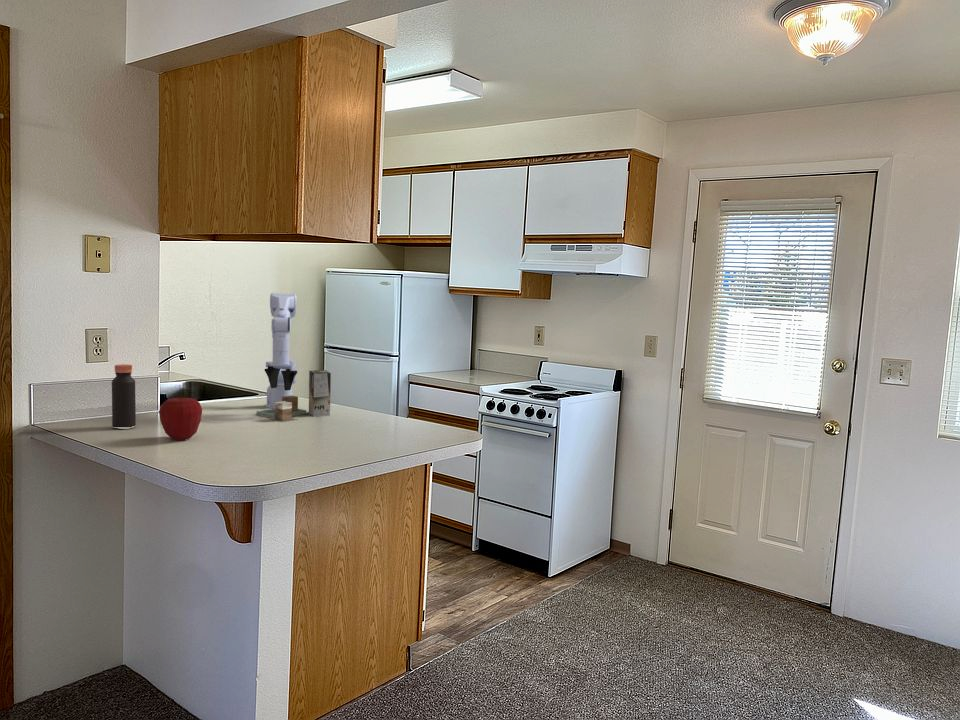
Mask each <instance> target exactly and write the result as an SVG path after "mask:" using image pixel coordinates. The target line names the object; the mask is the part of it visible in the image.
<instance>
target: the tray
mask: <svg viewBox="0 0 960 720" xmlns="http://www.w3.org/2000/svg"><path fill="white" fill-rule="evenodd" d="M306 414H307V410H306V409H302V408H298V411H296V412H292V416H293V417H294V416H300V415H306ZM256 415H257V416H261V417H267V418H269V419H275V408H270V409H264V410H263V409H262V410H256Z"/></svg>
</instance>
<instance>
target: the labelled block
mask: <svg viewBox="0 0 960 720" xmlns="http://www.w3.org/2000/svg"><path fill="white" fill-rule="evenodd" d="M274 409H275V418H274V419H275V420H279V421H286V420H292V418H293V417H292V403H291V402H286V401H282V402H275V408H274Z"/></svg>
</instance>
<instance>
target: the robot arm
mask: <svg viewBox="0 0 960 720" xmlns="http://www.w3.org/2000/svg"><path fill="white" fill-rule="evenodd" d="M297 302H298V301H297V294H296V293H277V292H276V293H275V292H274V293H273V292H271V293H270V296H269V308H270V314H271V316H272V317H273V318H272V319H271V335H272V336H271V337H272V361H265V368H264V372H265V374H266V376H267V378H268V382H269V385H268V386H267V389H266V405H264V407H265V408H266V407H267V408H270V409H275V402H282V396H293V384H295V383H296V375H297V374H298V370H297V364H296V363H295V362H293V361H292V360H291V359H290V334H291V332H292V331H291V329H292V320H291V319H293V318H295V317H296V314H297V304H298V303H297Z"/></svg>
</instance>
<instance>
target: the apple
mask: <svg viewBox="0 0 960 720" xmlns="http://www.w3.org/2000/svg"><path fill="white" fill-rule="evenodd" d="M158 414H159V419H160V424H161V425H162V429H163V430H164V433H165V434H166V435H167V437H169V438H171V440H173V439H175V441H185V440H184V439H188V440H190V439H191V438H192V437H193V436H194V435H196V434H197V432H198V428H199V427H200V423H201V421H202V416H203V407H202V405H201V403H200V402H199V401H198V400H197V399H196V398H193V397H182V395H180V397H173V398H168V399H166V400H165V401H164V402H163V403H162V404H161V405H160V408H159V410H158ZM189 438H190V439H189Z"/></svg>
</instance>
